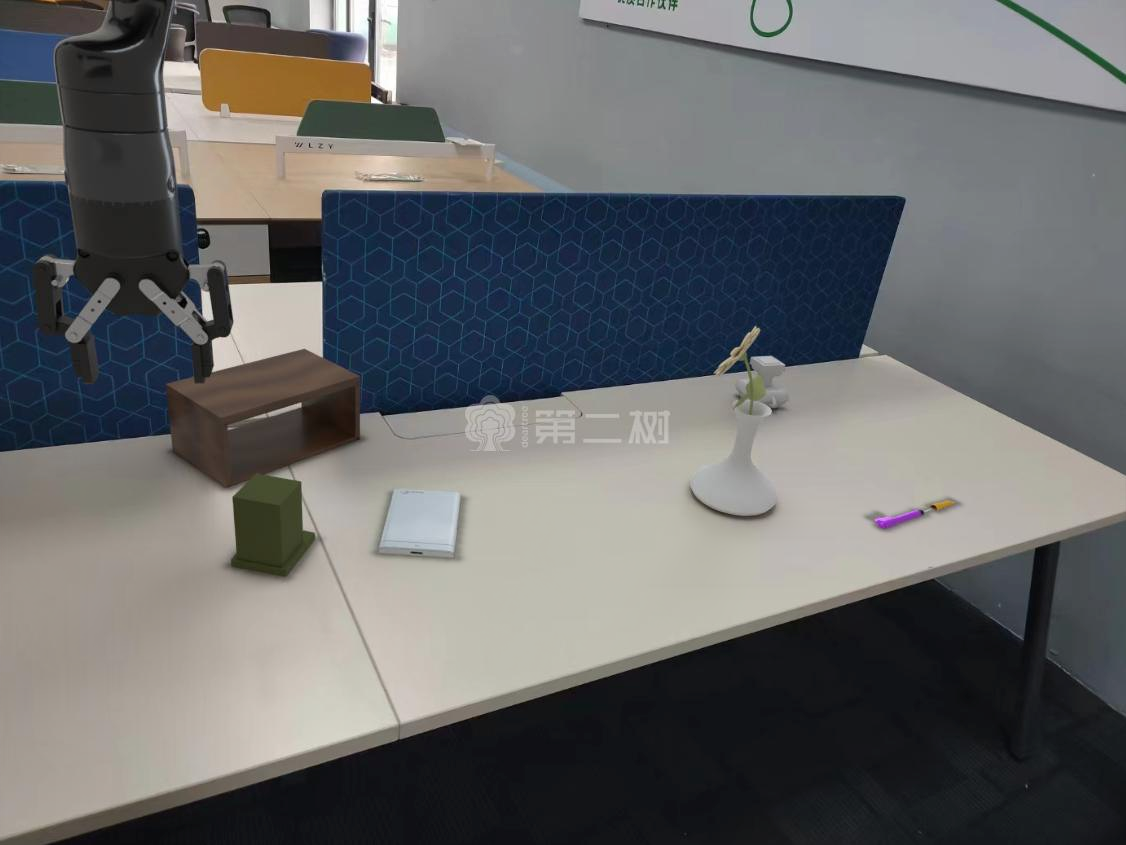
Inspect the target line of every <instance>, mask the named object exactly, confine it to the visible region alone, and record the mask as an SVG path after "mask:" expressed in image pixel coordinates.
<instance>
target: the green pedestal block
mask: <svg viewBox="0 0 1126 845" xmlns="http://www.w3.org/2000/svg"><path fill="white" fill-rule="evenodd" d="M302 487H303V486H302V480H295V479H290V478H284V477H278V476H275V475H267V474H264V475H263V474H257V473H256V474H255V475H254V476H253V477H252V478H251V479H250V480H248V481H246V483H245V484H243V486H242V487H241V488H239V490H238V491H236V492H235V494H233V496H232V508H233V509H232V511H233V525H234V538H235V551H236V552H235V554H234V555H233V557H232V558H230V566H231V568H237V569H241V570H242V569H243V570H246V571H247V570H248V571H253V572H257V573H264V574H269V575H272V576H273V575H274V576H279V577H285V578H287V577H288V576H289V574H290V573H291V572H292V570H293V569H294V568H295V566H296V565H297V564H298V562H299V561H300V560H301V559H302V557H303V556H304V555H305V553H306V552H307V550H308V549H309V548H310V547H311V545H312V544H313V543H314V542H315V541H316V532H313V531H309V530H304V522H303V492H302V491H303V490H302V489H303V488H302Z"/></svg>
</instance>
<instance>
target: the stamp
mask: <svg viewBox="0 0 1126 845" xmlns="http://www.w3.org/2000/svg"><path fill="white" fill-rule="evenodd" d="M749 365H751V369H752V370H754V371H755V372H756V373H757V376H759V375H760V374H761V375H762V378H763V382H764V386H765V391H766V394H765V396H764V397H762V398H761V399H759V400H756V401H758V402H761V403H763V404H765V405H767V406H768V407H769V408H770V409H778V408H779V407H781V406H783V405H785V404H787V402H789V401H790V395H789V393H788V392H787V390H785V389H784V388H782V387H781V386H780V385H779V384H778V383H776V382H775V381H774V380H773V379H774V378H775V377H780V376H782V374H783V372H784V373H785V372H786V364H785V363H783V362H782V361H780V360H779V359H777V358H776V357H774V356H773V355H764V356H763V355H762V356H760V355H759V356H751V357H750V360H749ZM753 379H754V378H752V380H753ZM749 382H750V380H749V378H740V379H738V380H737V381H735V384H734V387H735V389H736V391H737V393H738V395H739V397H740V399H741V398H742V397H743V396H744V395H745V394H747V391H746V385H747V384H748V383H749ZM747 399H748V400H750V398H749V397H748V398H747Z"/></svg>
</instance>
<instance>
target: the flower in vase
mask: <svg viewBox="0 0 1126 845" xmlns="http://www.w3.org/2000/svg"><path fill="white" fill-rule="evenodd" d="M760 332H761V329H760V327H757V325H755V326H754V327H753V328H752V330H751V332H750V331H749V332H748V333H746V335H745V336H744V338H743V340H742V342H741V343H740V346H737V347H734V348H733V349H732V350H731V352H730V353H729V354H730V357H728V358H726V359H725V360H724V361H722V362H721V363H720V364H719V365H718V366H717V369H716V370H715V371H714V372H713V374H714V375H715V376H717V377H718V378H719V377H721V376H722V375H723V374H725V373H726V372H727V371H728V370H729V369H731V368H732V366H734V365H735V363H736V362H737V361H739V362H740V361H742V362H743V361H744V364H745V366H746V371H747V374H748V379H749V380H750V382H749V383H748V384H747V385H746V391H747V394H745V395H744V396H743V397H742V398H741V397H740V398H739V399H736V400H733V401H732V403H731V407H732V410H733V411H734V413H735V417H736V434H735V439H734V440H735V441H734V444H733V448H732V450H731V453H730V454H729V455H728V456H727V457H724V458H722V459H720V460H716V461H714V462H711V463H708V464H706V465H704V466H703V467H701V468H699V469H698V470H696V471H695V473H694V474H693V475H692V476H691V479H690V482H689V484H690V489H691V490H692V493H693V494H694V496H695V497H696V498H697V499H698V500H699V501H700V502H701V503H703V504H704V505H706V506H707V507H709V508H711V509H714V510H716V511H718V512H721V513H725V514H729V515H733V516H743V517H751V516H758V515H762V514H765V513H767V512H768V511H769V510H771V509H772V508H773V507H774V506H775V505H776V503H777V493H776V489H775V487H774V485H773V483H771V482H770V480H769V478H768V477H767V476H766V475H765V474H764V473H763V471H761V470H760V469H759V468H757V466H756V465H755V464H754V462H753V461H752V448H753V444H754V440H755V437H756V435H757V432H758V430H759V428H760V426H761V424H762V423H763V422H764V420H766V419H767V418H768V417H769V416H770V415H771V414H772V413H773V411H772V408H769V407H768V406H767V405H765V404H763V403H761V402H758V401H756V400H759V399H761V398H762V397H764V396H765V394H766V391H765V386H764V382H763V378H762V375H761V374H760V375H759V376H758V375H757V376H756V377H754V378H753V375H752V371H751V368H750V362H749V360H748V358H747V356H748V354H747V350H748V349H749V348H750V347H751V345H752V344H753V343H754V341H756V339H757V337H758V336H759V335H760ZM752 379H753V380H752ZM748 397H749V398H750V400H748V399H747V398H748Z"/></svg>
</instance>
